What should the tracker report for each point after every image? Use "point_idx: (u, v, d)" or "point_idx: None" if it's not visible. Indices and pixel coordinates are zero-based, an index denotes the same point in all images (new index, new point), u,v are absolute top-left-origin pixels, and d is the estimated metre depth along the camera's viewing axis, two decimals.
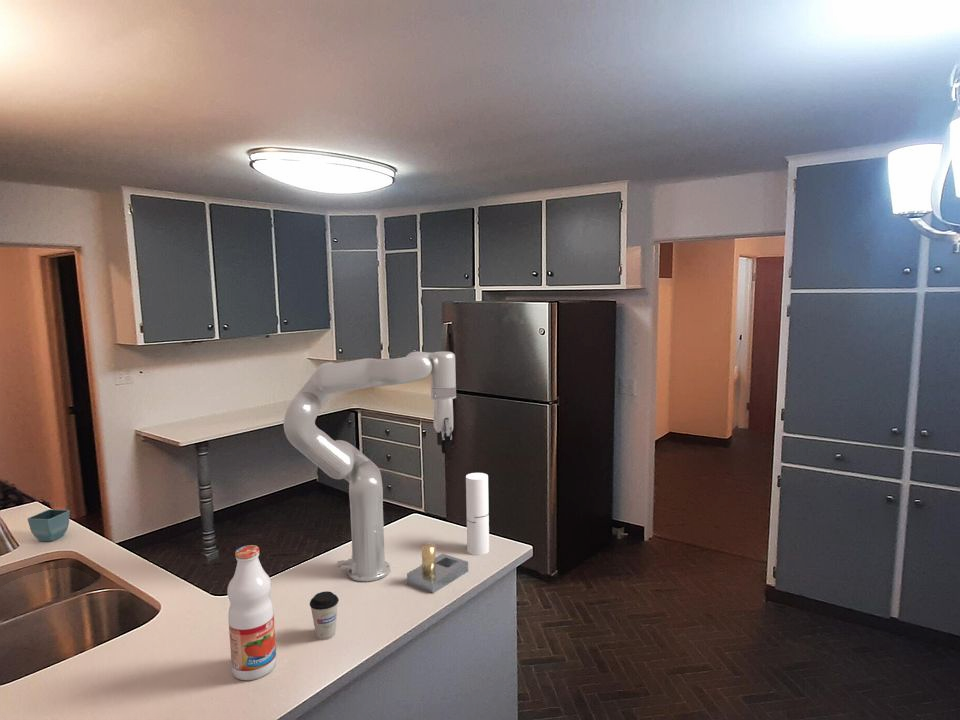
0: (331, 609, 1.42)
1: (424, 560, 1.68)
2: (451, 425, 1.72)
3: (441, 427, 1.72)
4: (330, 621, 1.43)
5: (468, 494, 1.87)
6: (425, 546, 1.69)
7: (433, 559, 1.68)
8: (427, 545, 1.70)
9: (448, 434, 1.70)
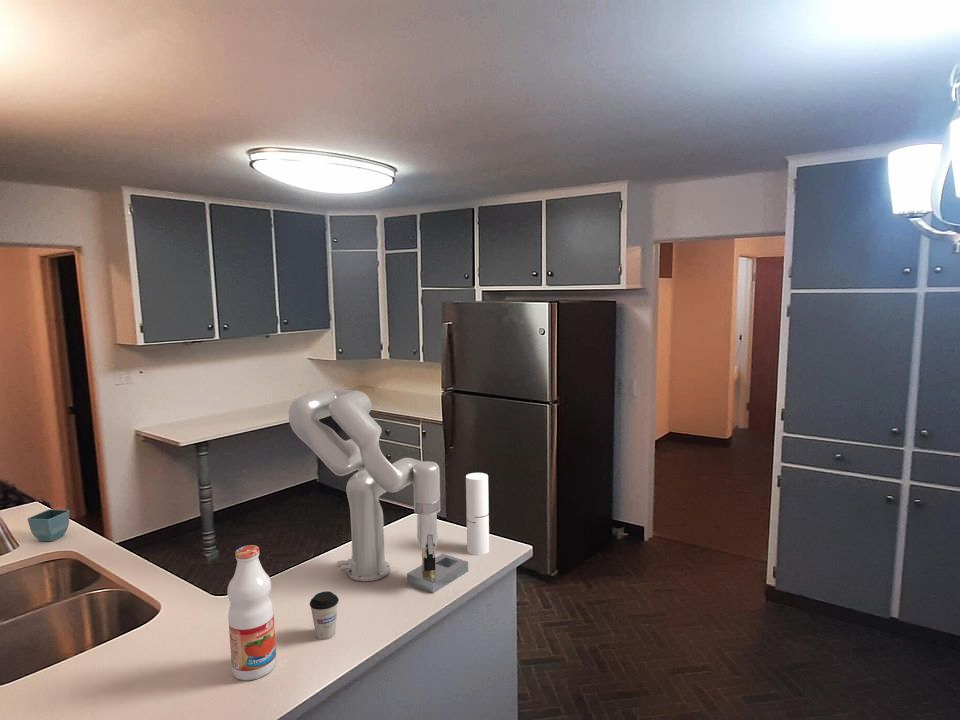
0: (331, 609, 1.42)
1: None
2: (434, 545, 1.65)
3: (424, 544, 1.64)
4: (330, 621, 1.43)
5: (468, 494, 1.87)
6: None
7: None
8: (427, 545, 1.70)
9: (430, 555, 1.64)
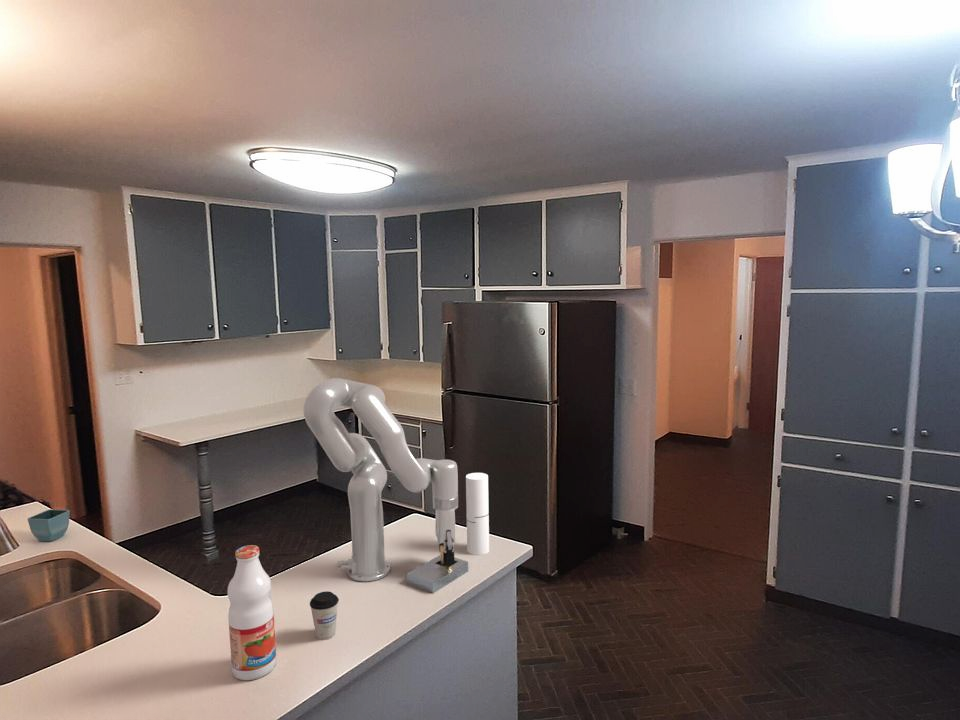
0: (331, 609, 1.42)
1: (442, 559, 1.75)
2: (453, 538, 1.71)
3: (443, 539, 1.70)
4: (330, 621, 1.43)
5: (468, 494, 1.87)
6: (443, 546, 1.76)
7: None
8: None
9: (450, 548, 1.68)
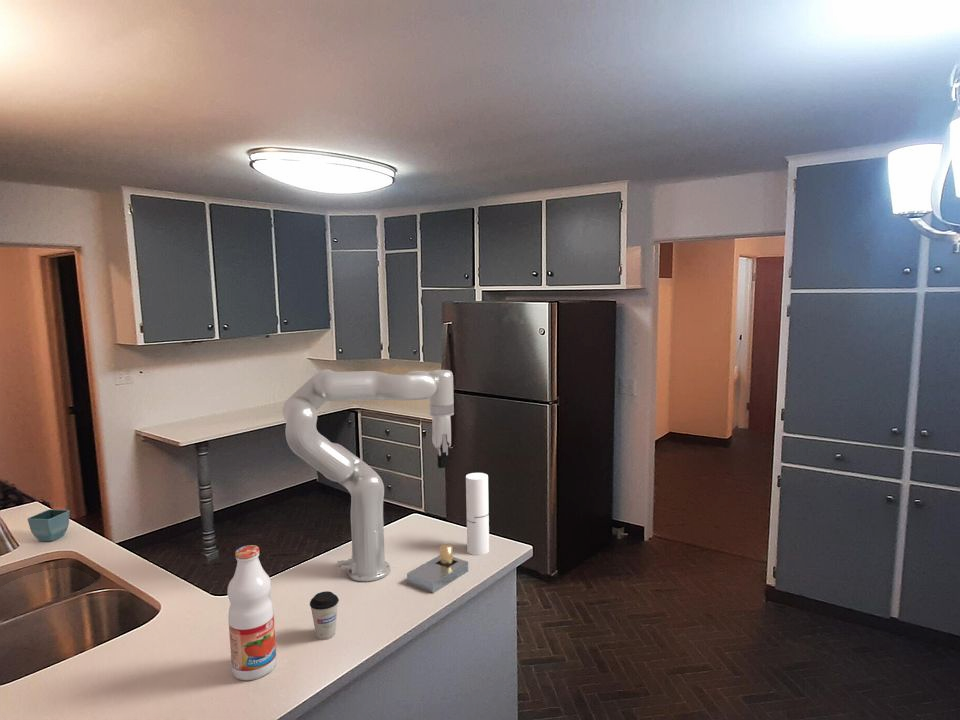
0: (331, 609, 1.42)
1: (442, 559, 1.75)
2: (448, 446, 1.81)
3: (439, 443, 1.78)
4: (330, 621, 1.43)
5: (468, 494, 1.87)
6: (443, 546, 1.76)
7: (451, 558, 1.75)
8: (445, 545, 1.77)
9: None
